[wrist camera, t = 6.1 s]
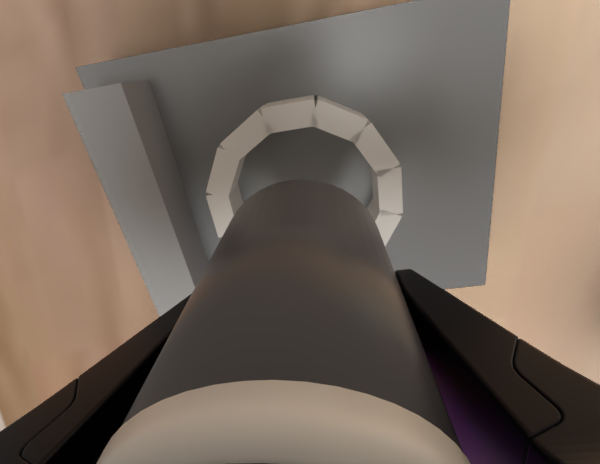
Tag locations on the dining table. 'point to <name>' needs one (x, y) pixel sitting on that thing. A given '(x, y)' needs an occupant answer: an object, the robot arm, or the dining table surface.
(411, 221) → the mount
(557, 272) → the dining table surface
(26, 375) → the dining table surface
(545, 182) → the dining table surface
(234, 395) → the lens
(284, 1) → the dining table surface
